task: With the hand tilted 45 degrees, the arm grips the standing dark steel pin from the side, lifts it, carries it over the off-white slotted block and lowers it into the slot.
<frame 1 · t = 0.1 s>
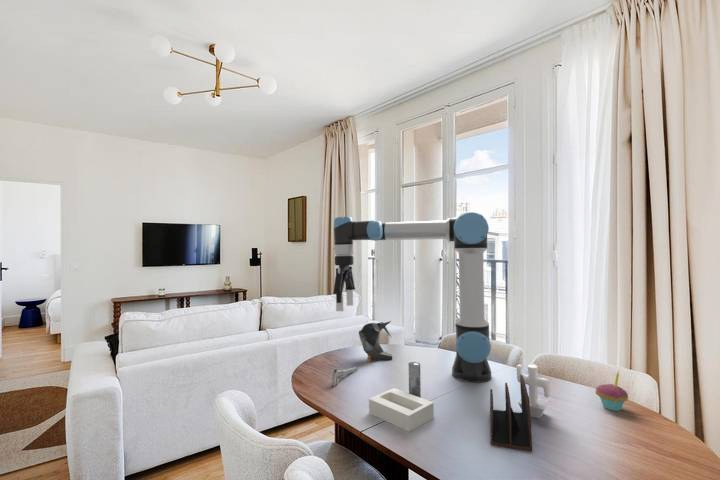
hand: (345, 308, 144), 28 cm above the table, tool pointing down, fingers open, 13 cm apart
block: (400, 415, 111), on the table
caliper: (345, 378, 144), on the table
cupcake: (611, 408, 115), on the table
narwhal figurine: (375, 359, 167), on the table
pin: (414, 398, 123), on the table
figurine: (533, 414, 111), on the table
letter holder: (508, 431, 102), on the table
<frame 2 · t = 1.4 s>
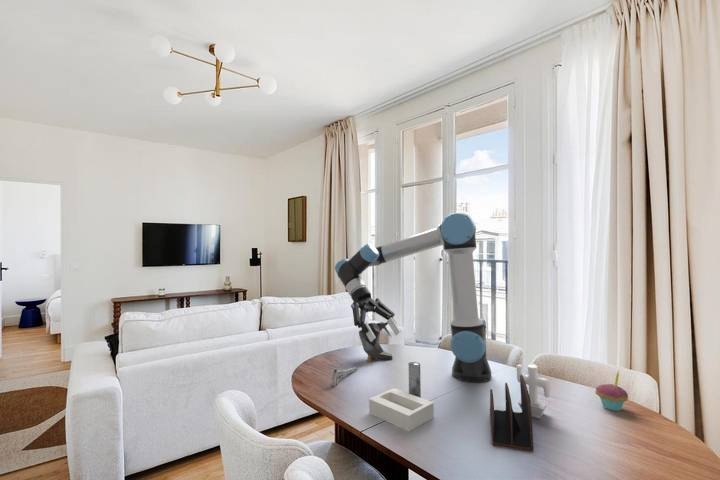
hand: (386, 336, 133), 19 cm above the table, tool tilted 45°, fingers open, 13 cm apart
nothing on the table moved.
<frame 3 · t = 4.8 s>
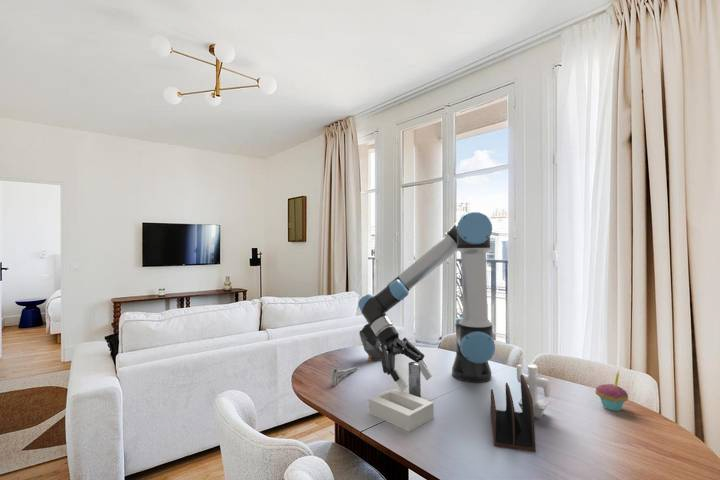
hand: (417, 383, 122), 6 cm above the table, tool tilted 45°, fingers open, 13 cm apart
figurine: (533, 414, 111), on the table, touching letter holder
letter holder: (510, 431, 102), on the table, touching figurine
everything else where it was.
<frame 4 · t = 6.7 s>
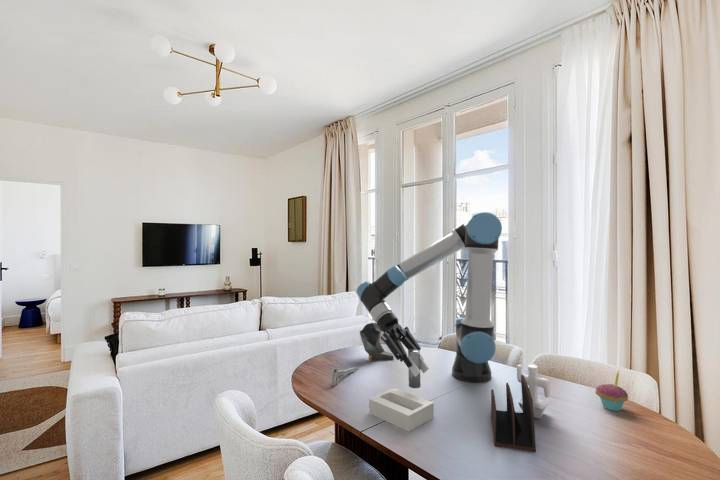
hand: (422, 372, 121), 10 cm above the table, tool tilted 45°, fingers closed on pin, 4 cm apart
pin: (414, 385, 123), point 4 cm above the table, touching gripper
figurine: (533, 414, 111), on the table
letter holder: (511, 431, 102), on the table
everything else where it was.
when the fingers open (7 cm above the table, at t = 10.8 s): pin stays where it is, resting on block.
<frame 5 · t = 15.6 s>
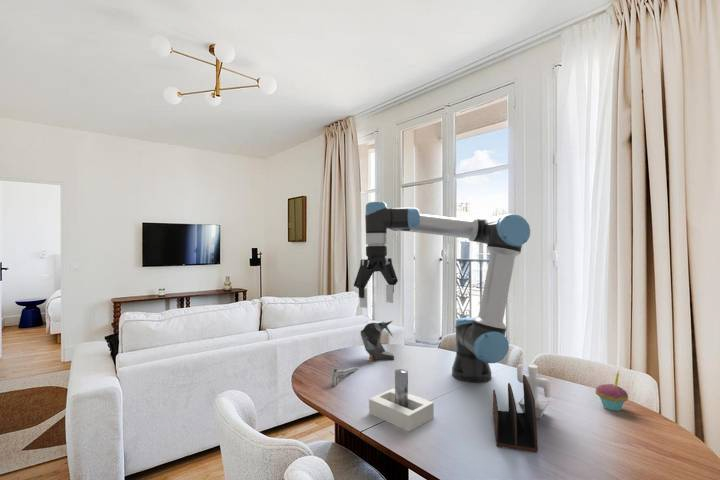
hand: (377, 304, 128), 32 cm above the table, tool pointing down, fingers open, 13 cm apart
pin: (401, 410, 111), point 2 cm above the table, touching block
everything else where it was.
at the end: pin 0.3 cm from the block (horizontally); pin point 1.6 cm above the table; pin tilted 1° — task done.
